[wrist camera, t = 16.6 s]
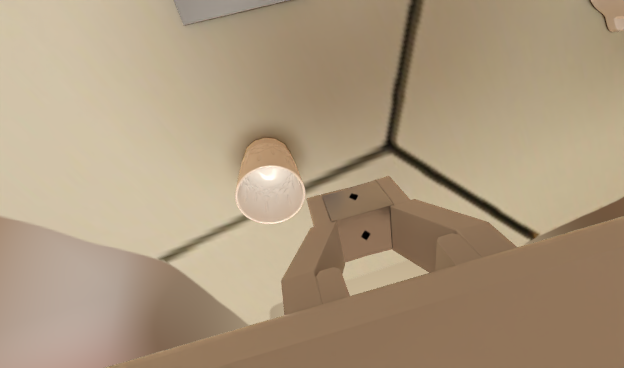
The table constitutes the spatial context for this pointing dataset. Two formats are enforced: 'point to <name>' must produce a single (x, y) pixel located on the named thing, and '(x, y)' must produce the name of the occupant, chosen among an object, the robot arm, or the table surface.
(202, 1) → the square flange plate
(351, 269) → the table surface
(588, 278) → the robot arm
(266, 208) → the white cup
